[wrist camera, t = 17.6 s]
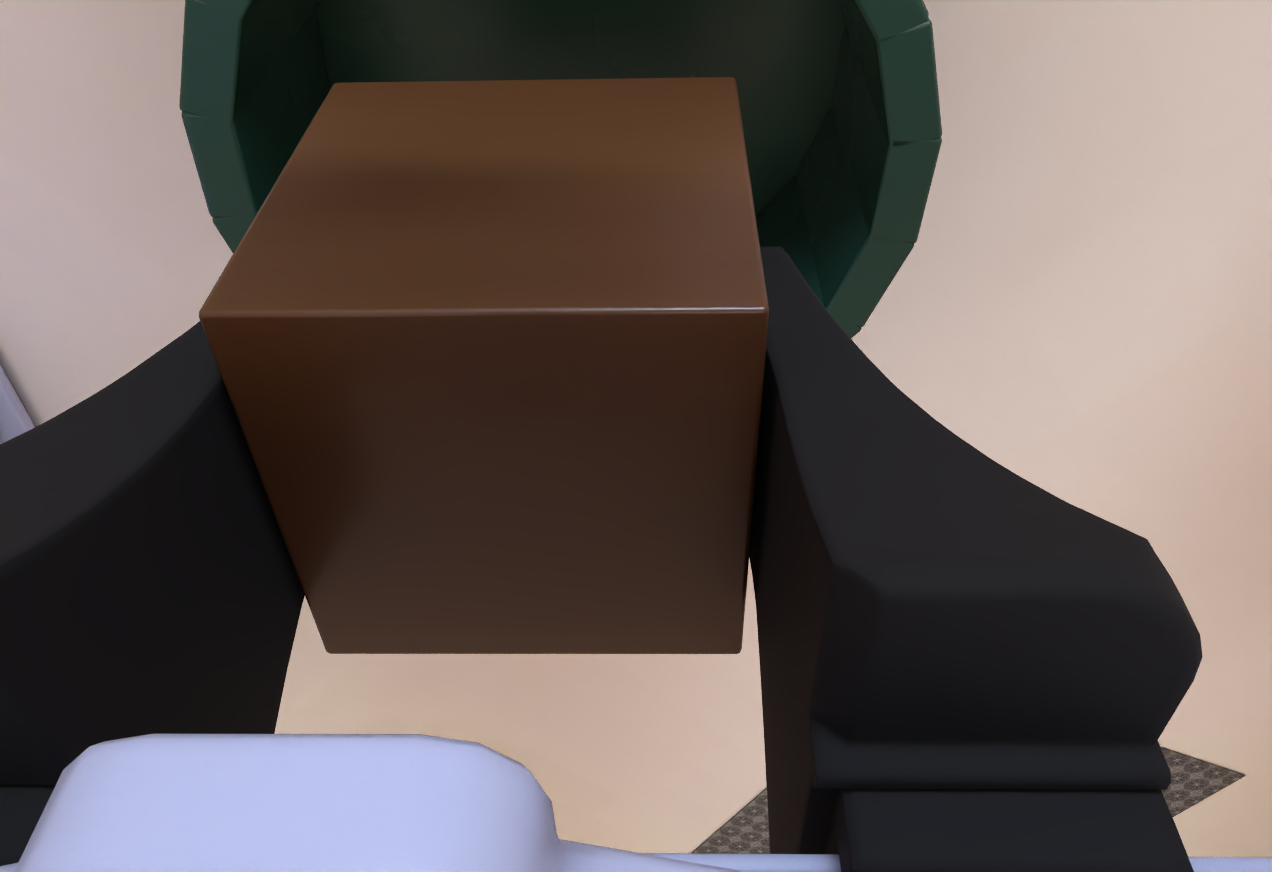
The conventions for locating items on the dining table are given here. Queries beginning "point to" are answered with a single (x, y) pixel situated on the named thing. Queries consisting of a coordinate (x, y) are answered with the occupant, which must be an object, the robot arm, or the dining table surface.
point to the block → (508, 365)
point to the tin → (609, 49)
